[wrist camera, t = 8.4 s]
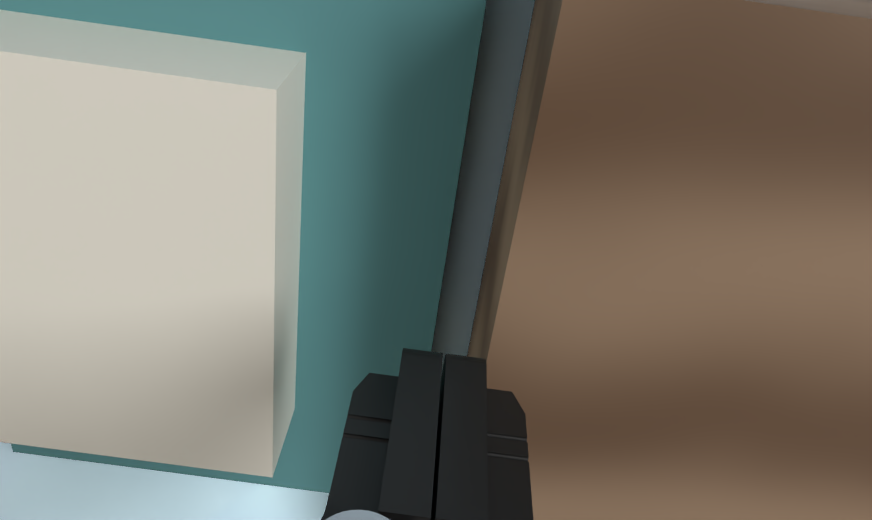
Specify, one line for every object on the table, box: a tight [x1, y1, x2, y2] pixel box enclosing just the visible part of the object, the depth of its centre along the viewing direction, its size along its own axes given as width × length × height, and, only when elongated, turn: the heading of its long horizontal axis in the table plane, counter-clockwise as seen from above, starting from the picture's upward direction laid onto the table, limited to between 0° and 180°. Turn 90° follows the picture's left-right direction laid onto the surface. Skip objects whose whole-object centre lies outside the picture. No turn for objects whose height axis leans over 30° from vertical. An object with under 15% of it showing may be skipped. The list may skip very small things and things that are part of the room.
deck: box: [467, 0, 872, 520], centre depth 16 cm, size 16×12×4 cm
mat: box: [0, 0, 486, 493], centre depth 18 cm, size 16×12×1 cm
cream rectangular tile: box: [0, 10, 306, 477], centre depth 16 cm, size 10×7×2 cm
